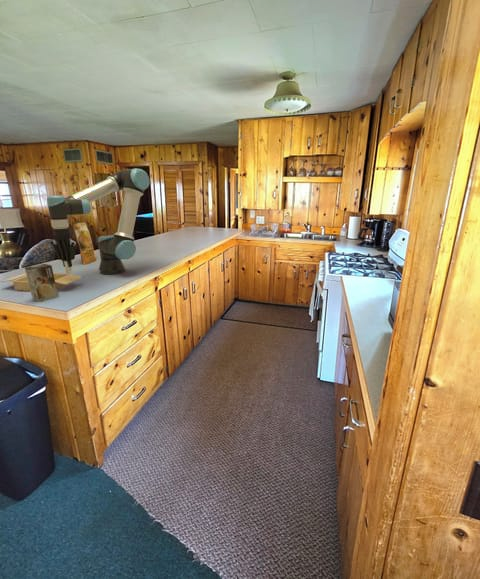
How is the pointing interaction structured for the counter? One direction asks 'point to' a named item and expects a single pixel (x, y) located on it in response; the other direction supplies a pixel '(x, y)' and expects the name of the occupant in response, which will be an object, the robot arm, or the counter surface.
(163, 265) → the counter surface
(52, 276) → the coffee box
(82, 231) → the pancake mix bag
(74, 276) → the flap
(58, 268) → the counter surface
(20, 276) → the flap
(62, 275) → the tan shallow open box
